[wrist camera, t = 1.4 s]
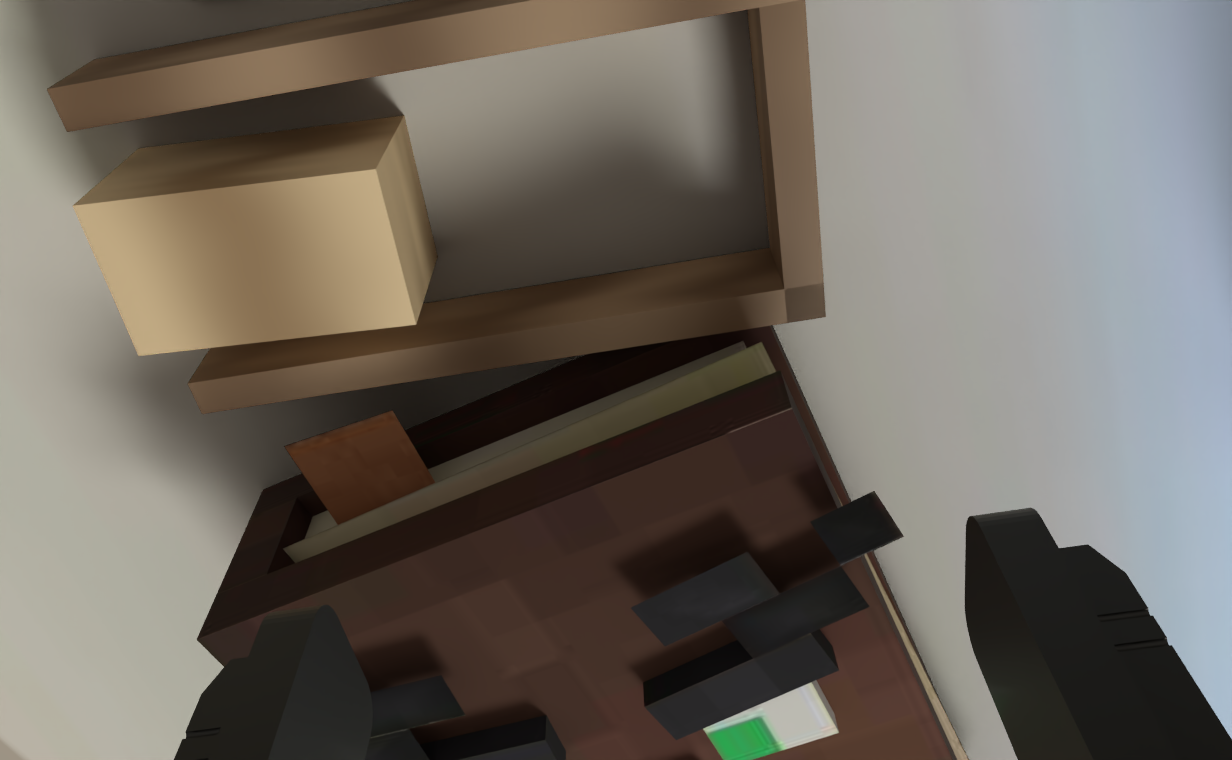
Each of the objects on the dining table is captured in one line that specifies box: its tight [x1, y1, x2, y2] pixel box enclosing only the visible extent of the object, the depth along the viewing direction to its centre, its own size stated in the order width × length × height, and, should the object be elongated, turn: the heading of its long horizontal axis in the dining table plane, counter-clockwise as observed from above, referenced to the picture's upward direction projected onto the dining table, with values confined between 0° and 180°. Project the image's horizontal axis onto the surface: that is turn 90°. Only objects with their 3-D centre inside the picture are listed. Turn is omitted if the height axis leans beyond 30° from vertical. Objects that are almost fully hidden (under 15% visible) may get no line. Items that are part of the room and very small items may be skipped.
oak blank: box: [73, 115, 438, 356], centre depth 25 cm, size 7×4×4 cm, turn 97°
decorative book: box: [197, 325, 969, 760], centre depth 33 cm, size 19×8×30 cm
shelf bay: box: [47, 0, 826, 414], centre depth 25 cm, size 17×9×2 cm, turn 100°
